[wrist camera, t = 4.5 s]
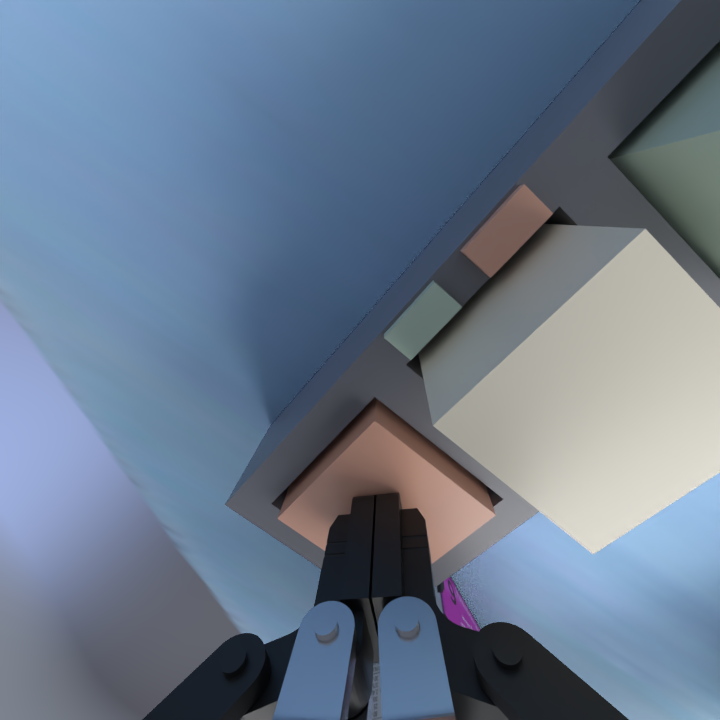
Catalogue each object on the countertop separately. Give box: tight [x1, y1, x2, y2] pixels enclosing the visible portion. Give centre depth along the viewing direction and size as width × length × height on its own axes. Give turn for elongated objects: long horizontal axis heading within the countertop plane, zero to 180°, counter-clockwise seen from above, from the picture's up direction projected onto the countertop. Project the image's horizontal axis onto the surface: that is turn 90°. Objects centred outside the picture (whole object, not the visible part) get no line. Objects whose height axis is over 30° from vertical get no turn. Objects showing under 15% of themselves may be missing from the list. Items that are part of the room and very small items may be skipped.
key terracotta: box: [277, 397, 496, 564], centre depth 15 cm, size 5×5×5 cm
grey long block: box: [225, 0, 720, 587], centre depth 13 cm, size 22×8×6 cm, turn 140°
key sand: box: [418, 224, 720, 554], centre depth 10 cm, size 5×5×5 cm
